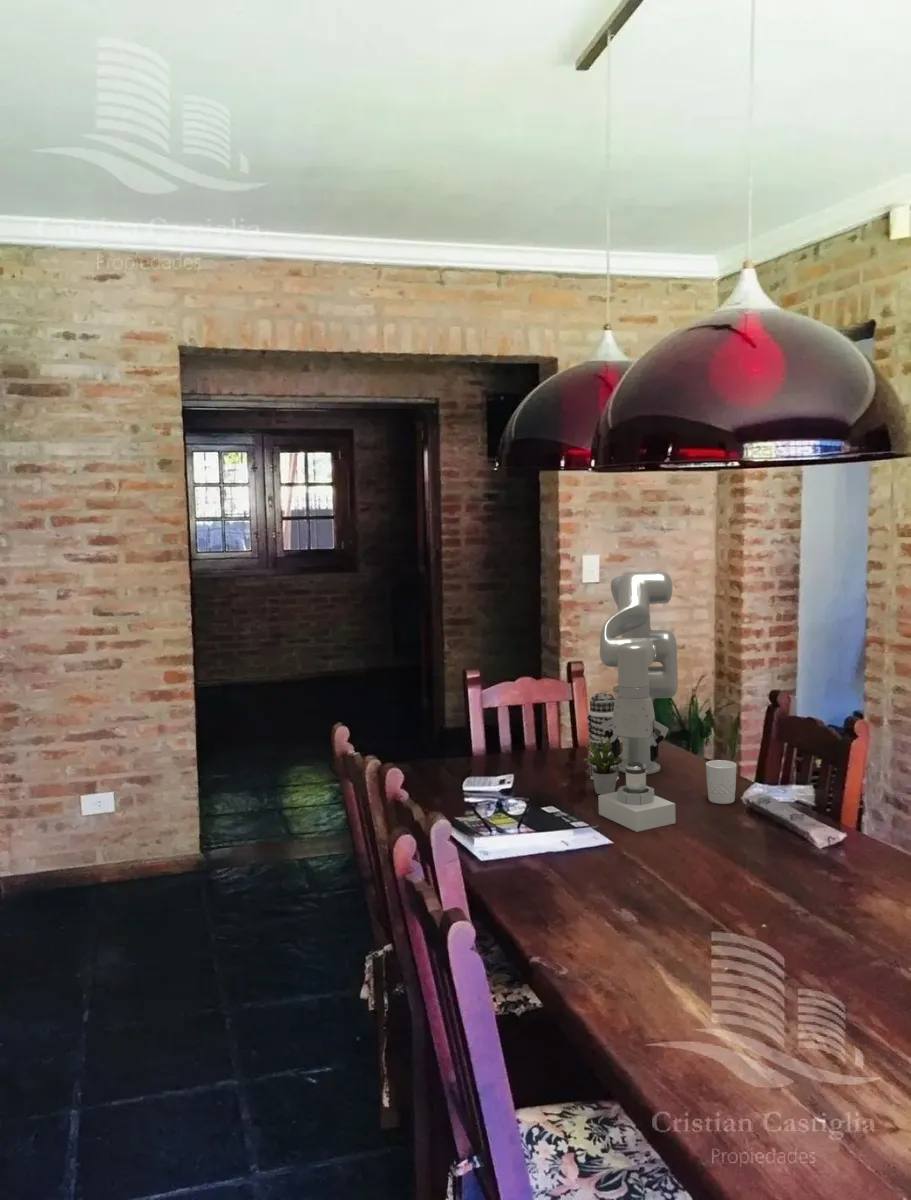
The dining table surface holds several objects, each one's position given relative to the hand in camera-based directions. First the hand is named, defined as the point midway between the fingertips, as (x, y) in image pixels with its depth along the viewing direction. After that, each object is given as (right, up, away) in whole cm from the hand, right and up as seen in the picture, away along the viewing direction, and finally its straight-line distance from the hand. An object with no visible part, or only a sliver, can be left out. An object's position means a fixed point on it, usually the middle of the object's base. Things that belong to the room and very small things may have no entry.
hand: (635, 758), depth 234 cm
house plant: (-3, -14, +22) cm, 27 cm away
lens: (0, -11, 0) cm, 11 cm away
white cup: (+26, -14, +13) cm, 32 cm away
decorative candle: (-2, -13, +37) cm, 39 cm away
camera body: (+1, -16, +1) cm, 16 cm away
